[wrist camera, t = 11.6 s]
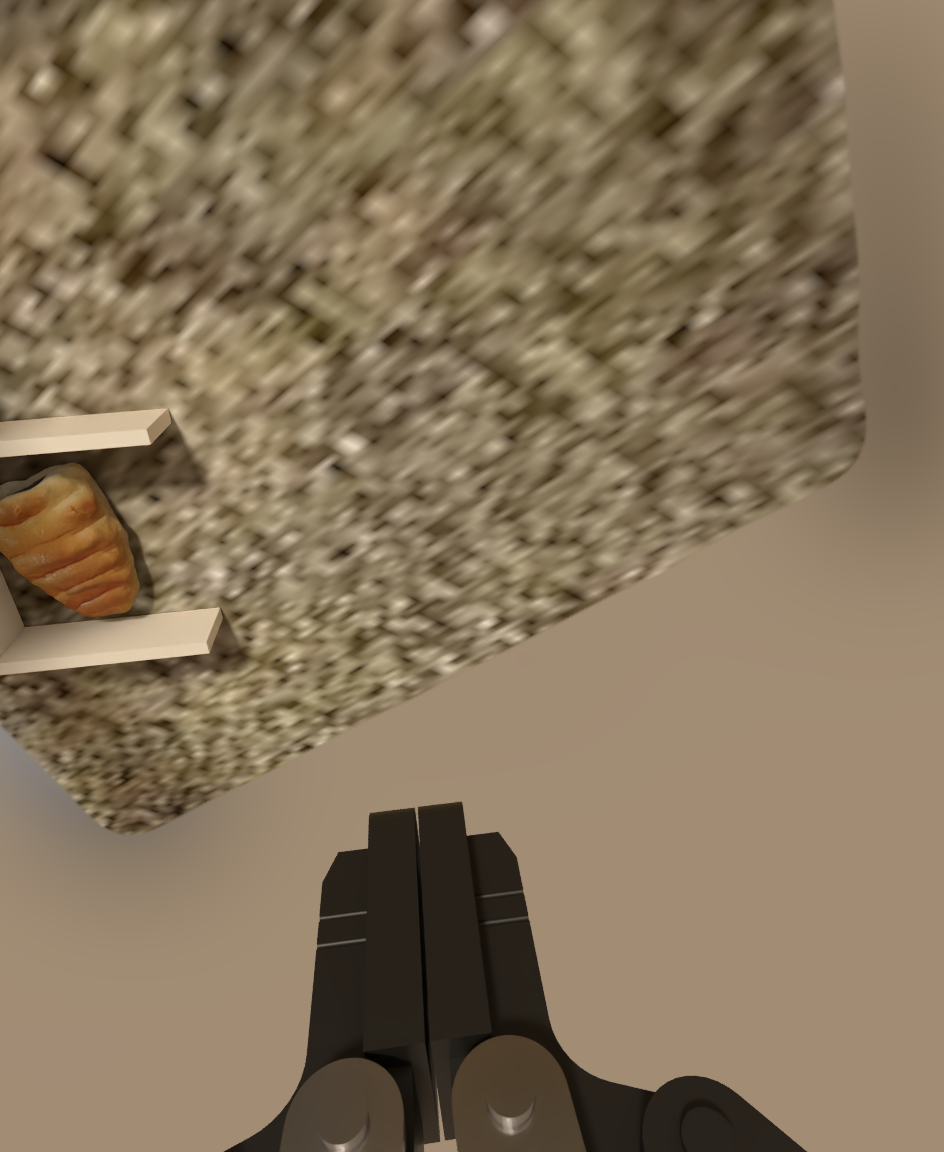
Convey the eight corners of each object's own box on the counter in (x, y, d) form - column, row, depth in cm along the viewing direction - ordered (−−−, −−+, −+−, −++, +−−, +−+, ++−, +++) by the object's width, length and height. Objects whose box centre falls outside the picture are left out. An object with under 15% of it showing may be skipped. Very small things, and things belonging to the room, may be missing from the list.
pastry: (174, 582, 44) (157, 613, 41) (79, 620, 45) (54, 654, 41) (82, 448, 40) (53, 471, 36) (-23, 492, 40) (-61, 519, 37)
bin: (-76, 428, 38) (-123, 451, 34) (167, 408, 39) (146, 429, 35) (16, 639, 44) (-16, 677, 41) (223, 618, 45) (209, 653, 42)
